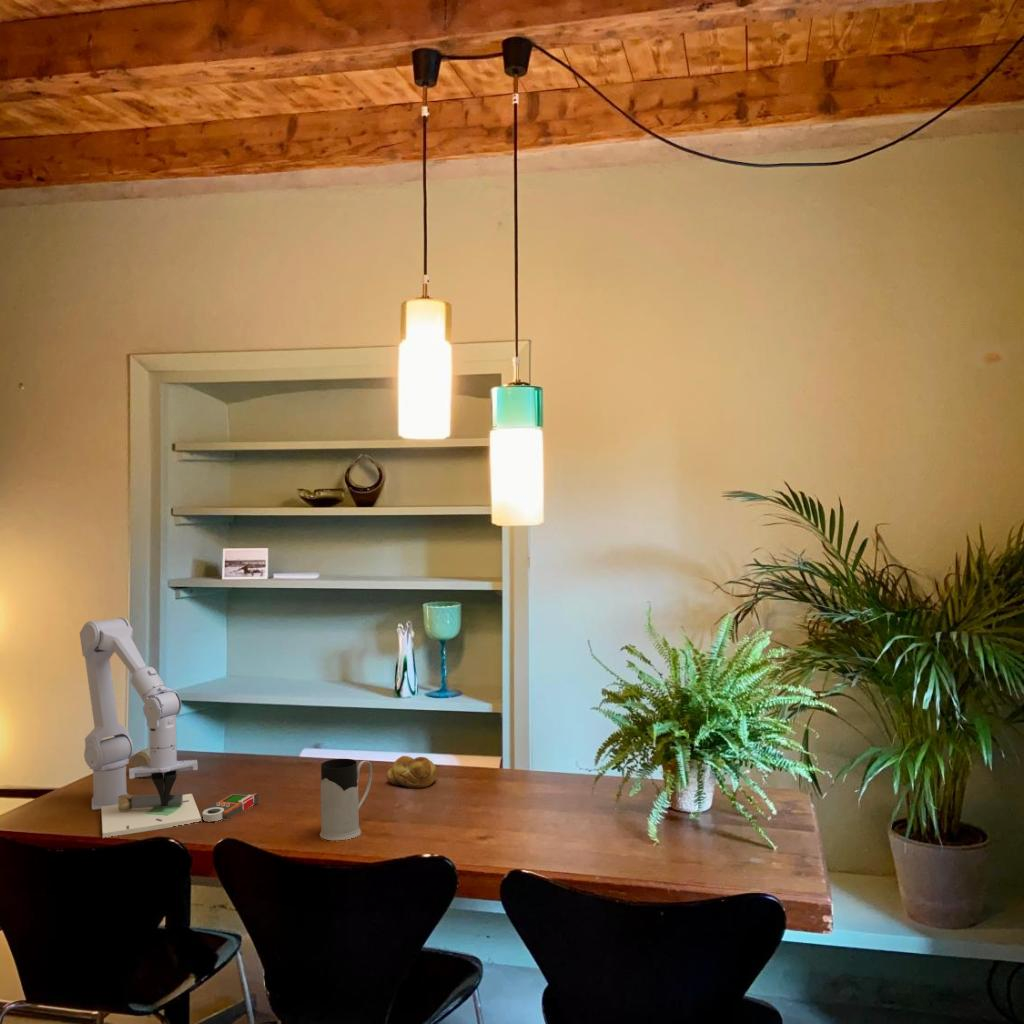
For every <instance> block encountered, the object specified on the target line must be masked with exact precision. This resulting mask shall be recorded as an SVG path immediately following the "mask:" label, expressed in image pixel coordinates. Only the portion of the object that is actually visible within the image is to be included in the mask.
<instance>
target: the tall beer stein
mask: <svg viewBox="0 0 1024 1024" xmlns="http://www.w3.org/2000/svg"><path fill="white" fill-rule="evenodd" d="M364 763H367V765H368V771H369V773H368V774H369V775H368V781H367V785H366V787H365V792H364V794H363V796H362V798H361V799H360V801H359V785H358V783H359V781H360V771H361V767H362V766H363V764H364ZM320 773H321V774H320V778H321V779H320V818H321V820H320V821H321V822H320V825H321V827H320V828H321V829H320V833H319V835H320V836H321V837H322V838H324V839H327V840H345V839H346V841H348V840H347V839H350V840H352V839H351V838H354V839H356V838H358V837H359V836H360V835H362V830H361V829H360V820H359V819H360V818H359V813H360V812H359V811H360V808H361V807H362V805H363V804H364V801H366V798H367V797H368V794H369V793H370V792H369V791H370V789H371V785H372V780H373V779H372V778H373V765H372V763H371V762H370V761H369V760H362V761H360V762H359V763H358V761H356V760H355V759H351V758H334V759H329V760H326V761H324V762H322V763H321V764H320ZM357 836H358V837H357ZM355 837H356V838H355Z"/></svg>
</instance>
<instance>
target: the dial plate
mask: <svg viewBox="0 0 1024 1024" xmlns="http://www.w3.org/2000/svg"><path fill="white" fill-rule="evenodd" d="M182 795H183V804H182V805H181V806H164V807H148V808H132V809H130V810H125V811H120V810H118V804H117V805H110V806H103V807H101V809H100V810H101V831H102V832H101V834H102V839H104V838H105V837H106V838H112V837H111V836H113V837H118V835H119V836H123V835H131V834H137V833H144V832H149V831H150V832H151V831H155V830H161V829H162V830H163V829H169V828H174V827H173V826H176V827H179V826H178V825H182V826H185V825H184V824H188V825H191V824H190V823H193V822H199V821H201V822H202V815H201V813H200V811H199V809H198V806H197V803H196V801H195V798H194V796H193V793H188V794H187V793H185V794H182Z"/></svg>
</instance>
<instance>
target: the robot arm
mask: <svg viewBox="0 0 1024 1024" xmlns="http://www.w3.org/2000/svg"><path fill="white" fill-rule="evenodd" d="M133 635H134V629H133V627H132V626H131V623H130V621H128V619H127V618H126V617H121V616H120V617H118V618H112V619H111V618H110V619H102V620H96V621H93V620H90V621H87V622H85V624H84V625H83V626H82V628H81V630H80V631H79V638H80V643H81V644H80V645H81V653H82V657H84V659H85V660H84V661H85V662H84V663H85V668H86V675H87V681H88V682H87V683H88V690H89V696H90V704H91V712H92V718H93V726H94V727H93V729H92V730H91V732H89V733H88V735H87V736H86V737H85V738H84V743H85V744H84V745H85V746H84V753H83V756H84V761H85V763H86V765H87V767H89V769H90V770H92V779H93V780H92V781H93V782H92V785H93V786H92V788H93V794H92V795H93V797H91V810H92V811H96V810H101V807H103V806H110V805H117V804H118V797H119V796H121V795H125V794H129V793H128V792H127V765H128V764H129V761H130V759H131V758H132V757H133V755H134V752H135V751H134V750H135V749H134V742H133V740H132V738H131V735H130V730H129V728H128V727H125V726H124V725H122V724H121V723H120V722H119V716H118V711H117V703H116V694H115V689H114V682H113V681H114V680H113V674H112V668H111V662H110V661H111V660H110V659H111V657H112V656H113V655H114V653H115V654H116V656H118V658H119V659H120V661H121V662H122V663H123V664H124V666H125V667H126V669H128V671H129V672H130V673H131V674H132V675H131V679H130V683H131V684H132V686H133V687H134V689H135V691H136V693H137V694H138V695H139V697H140V699H141V700H142V702H143V703H144V704H143V705H144V706H142V710H143V711H142V712H143V714H144V717H145V719H146V726H147V728H149V729H148V730H149V747H150V764H149V765H145V766H140V767H135V768H133V767H130V768H128V776H129V777H128V778H129V780H131V779H135V778H139V777H140V778H143V777H142V776H149V775H151V777H150V778H151V780H152V782H153V784H154V786H155V788H156V790H157V794H159V796H160V800H161V806H162V807H164V806H168V799H169V795H170V793H172V792H171V791H172V788H173V786H174V784H175V781H177V780H176V779H177V773H178V772H185V771H198V770H199V769H198V760H197V759H189V760H178V756H177V755H178V753H177V752H178V749H177V748H178V747H177V716H178V715H179V714H180V712H181V710H182V699H181V697H180V694H179V693H178V692H177V691H175V690H173V689H171V688H170V687H168V686H166V685H165V683H164V681H163V680H162V679H161V676H160V675H159V674H158V672H157V671H156V669H155V668H154V667H153V666H147V664H146V663H145V661H144V659H143V657H142V655H141V653H140V652H139V650H138V648H137V646H136V644H135V642H134V640H133ZM163 774H164V778H163Z"/></svg>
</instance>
